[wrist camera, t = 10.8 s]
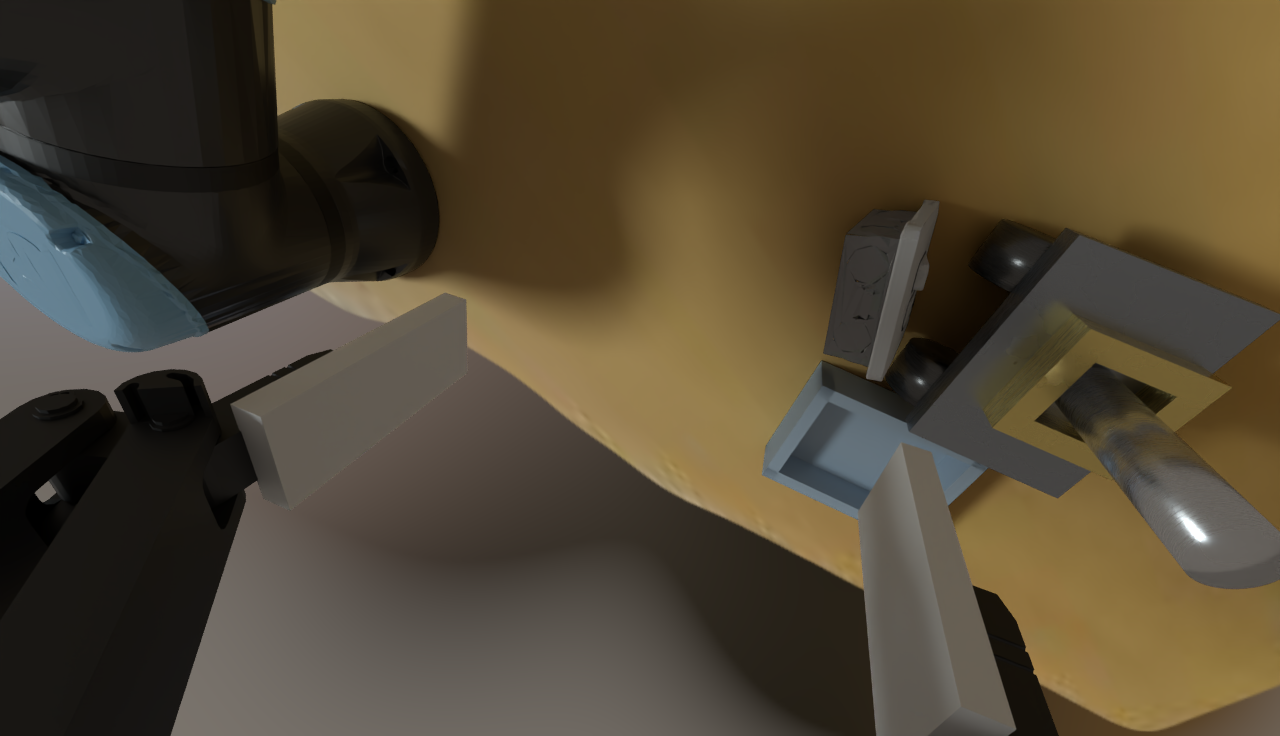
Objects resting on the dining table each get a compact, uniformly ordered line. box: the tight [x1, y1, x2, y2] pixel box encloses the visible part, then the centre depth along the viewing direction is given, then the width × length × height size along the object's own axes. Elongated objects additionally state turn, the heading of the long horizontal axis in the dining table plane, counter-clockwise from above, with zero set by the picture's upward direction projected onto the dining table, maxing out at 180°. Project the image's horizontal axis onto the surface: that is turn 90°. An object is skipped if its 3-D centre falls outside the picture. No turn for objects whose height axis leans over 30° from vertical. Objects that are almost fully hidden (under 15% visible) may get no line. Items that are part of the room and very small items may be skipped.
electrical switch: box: [823, 200, 939, 381], centre depth 31 cm, size 9×5×9 cm, turn 1°
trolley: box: [885, 219, 1280, 498], centre depth 30 cm, size 13×14×9 cm
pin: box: [1055, 367, 1280, 589], centre depth 23 cm, size 3×3×12 cm
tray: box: [762, 360, 988, 520], centre depth 39 cm, size 13×10×4 cm
